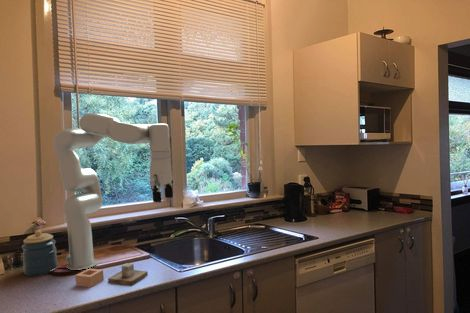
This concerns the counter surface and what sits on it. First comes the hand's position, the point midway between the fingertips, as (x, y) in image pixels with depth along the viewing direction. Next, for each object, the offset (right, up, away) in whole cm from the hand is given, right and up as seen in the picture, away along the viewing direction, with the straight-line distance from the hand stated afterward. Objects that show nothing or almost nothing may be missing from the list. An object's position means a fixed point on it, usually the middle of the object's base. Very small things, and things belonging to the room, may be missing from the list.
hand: (163, 199), depth 142 cm
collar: (-28, -32, -1) cm, 43 cm away
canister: (-55, -33, +15) cm, 66 cm away
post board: (-14, -31, +1) cm, 34 cm away
